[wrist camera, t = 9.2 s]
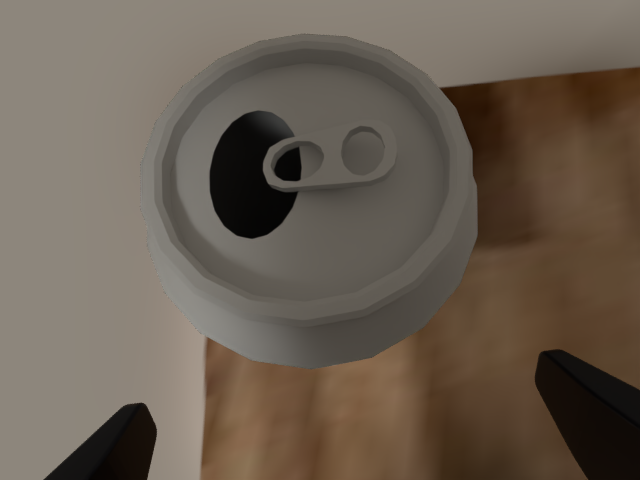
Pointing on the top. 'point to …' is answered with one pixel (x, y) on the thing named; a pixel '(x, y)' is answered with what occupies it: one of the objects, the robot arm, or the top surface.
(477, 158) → the top surface
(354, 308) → the can
